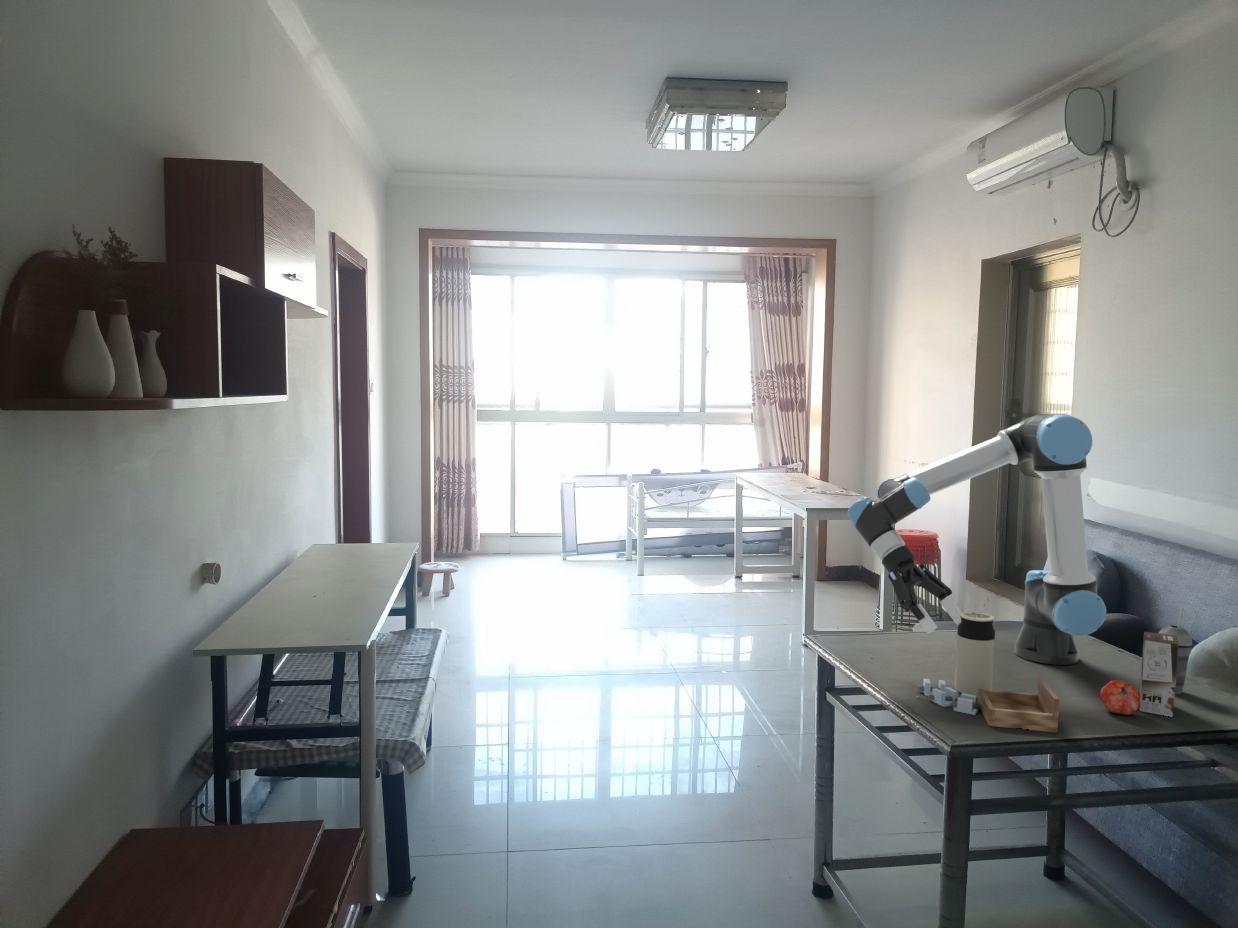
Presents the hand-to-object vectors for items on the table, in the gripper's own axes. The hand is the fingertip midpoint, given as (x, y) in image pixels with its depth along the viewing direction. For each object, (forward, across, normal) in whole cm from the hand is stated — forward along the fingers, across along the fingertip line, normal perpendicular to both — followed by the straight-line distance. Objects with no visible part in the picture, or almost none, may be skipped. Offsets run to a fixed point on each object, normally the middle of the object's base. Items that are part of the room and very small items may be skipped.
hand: (947, 625), depth 199 cm
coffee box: (+36, -23, +16) cm, 46 cm away
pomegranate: (+33, -14, +13) cm, 38 cm away
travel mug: (+15, -1, -6) cm, 16 cm away
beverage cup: (+35, -39, +15) cm, 55 cm away
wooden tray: (+24, +8, +4) cm, 26 cm away
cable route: (+14, +10, -6) cm, 18 cm away
